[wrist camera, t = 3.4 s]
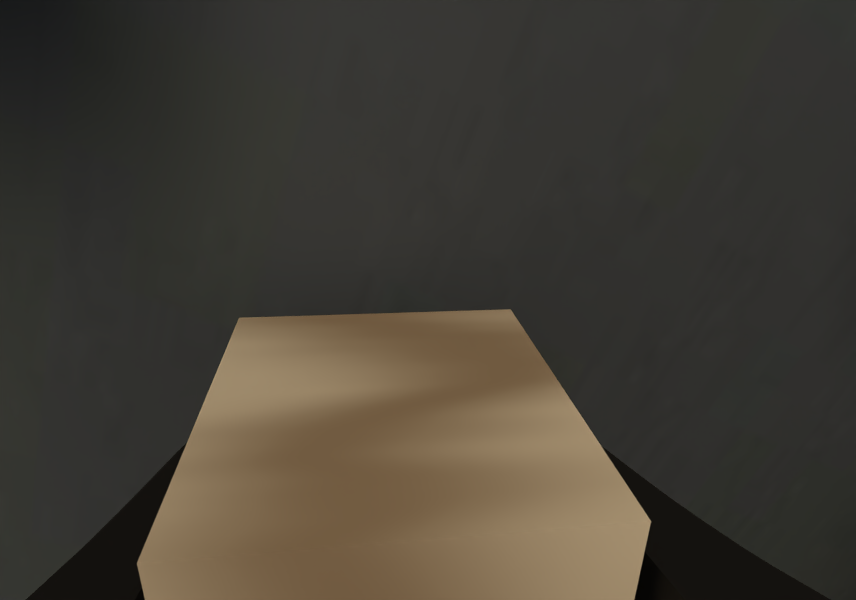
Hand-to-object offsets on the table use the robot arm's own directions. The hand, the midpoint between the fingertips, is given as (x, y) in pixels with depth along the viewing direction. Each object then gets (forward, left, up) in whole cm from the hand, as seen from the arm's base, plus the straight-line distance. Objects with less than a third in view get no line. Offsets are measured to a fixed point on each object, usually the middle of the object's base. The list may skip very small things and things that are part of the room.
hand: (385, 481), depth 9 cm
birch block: (0, 0, -2) cm, 2 cm away
